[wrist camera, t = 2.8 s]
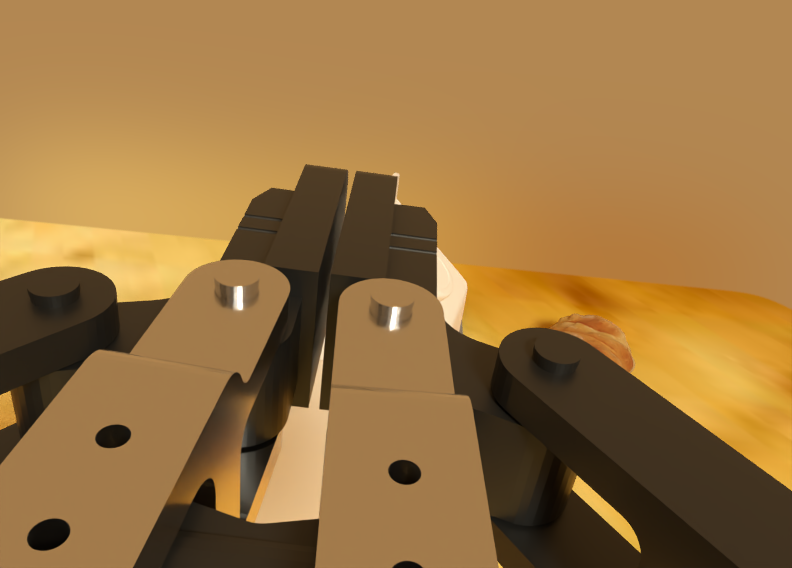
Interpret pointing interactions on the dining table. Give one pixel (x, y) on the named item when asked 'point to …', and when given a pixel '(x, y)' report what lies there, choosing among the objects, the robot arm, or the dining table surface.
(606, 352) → the pastry
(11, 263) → the dining table surface
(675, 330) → the dining table surface
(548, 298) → the dining table surface
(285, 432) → the milk carton
